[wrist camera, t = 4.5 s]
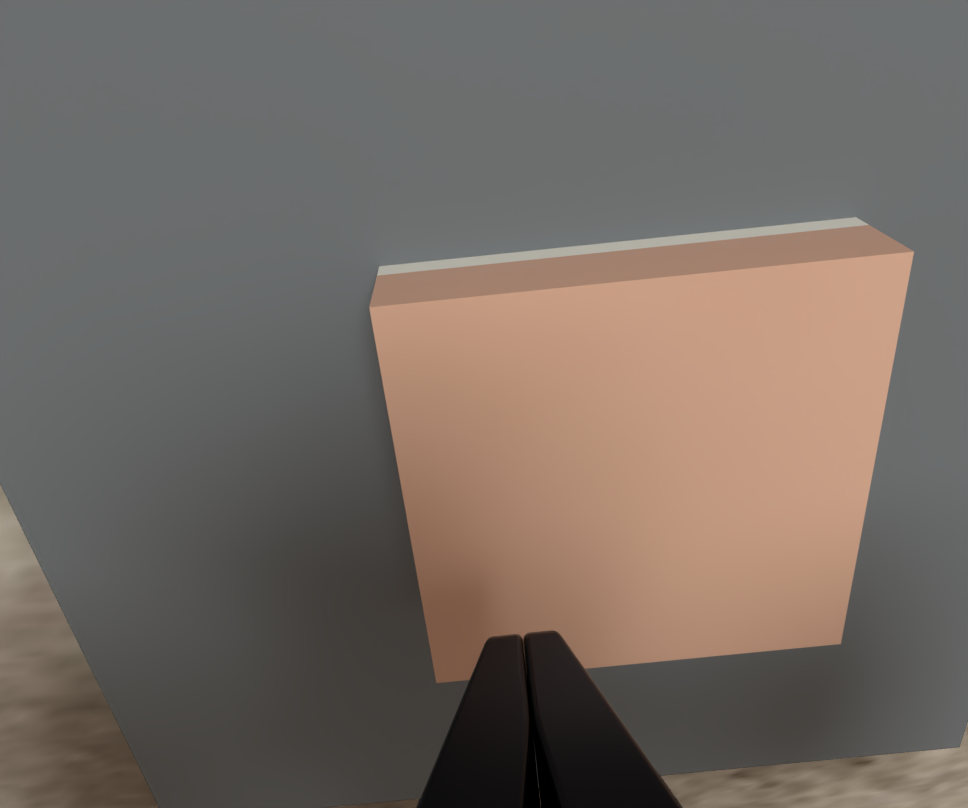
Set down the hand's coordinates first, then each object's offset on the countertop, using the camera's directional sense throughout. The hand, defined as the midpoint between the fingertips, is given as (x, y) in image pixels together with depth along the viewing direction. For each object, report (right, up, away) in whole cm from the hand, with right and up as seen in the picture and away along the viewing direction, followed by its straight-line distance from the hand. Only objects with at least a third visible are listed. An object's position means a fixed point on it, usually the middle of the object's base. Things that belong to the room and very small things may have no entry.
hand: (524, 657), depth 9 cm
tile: (-2, +2, +3) cm, 4 cm away
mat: (0, +3, +4) cm, 5 cm away
